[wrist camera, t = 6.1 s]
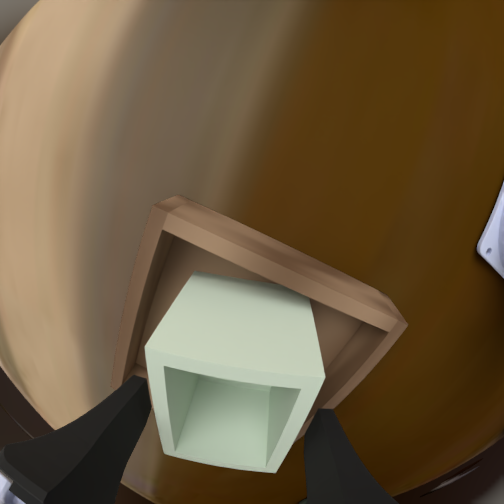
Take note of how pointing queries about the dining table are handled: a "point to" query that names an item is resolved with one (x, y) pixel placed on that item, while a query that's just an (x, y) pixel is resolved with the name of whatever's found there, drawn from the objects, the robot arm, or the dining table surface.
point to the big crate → (257, 269)
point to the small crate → (234, 372)
